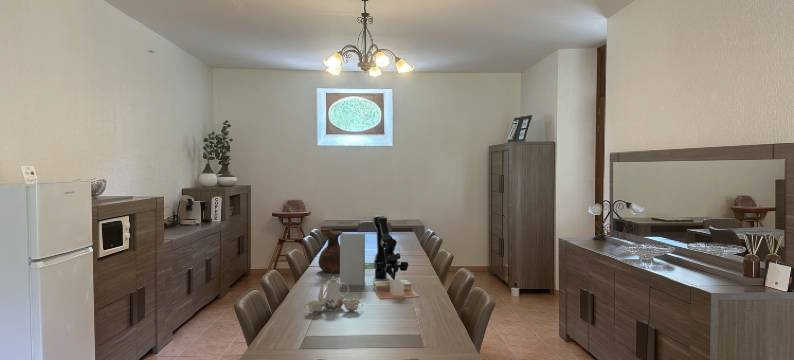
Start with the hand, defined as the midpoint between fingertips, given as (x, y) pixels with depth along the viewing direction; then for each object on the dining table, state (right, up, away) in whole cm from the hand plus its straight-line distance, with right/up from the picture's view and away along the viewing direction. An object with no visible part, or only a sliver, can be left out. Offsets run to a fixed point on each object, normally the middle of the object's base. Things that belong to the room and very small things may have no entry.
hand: (394, 279), depth 286 cm
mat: (+2, -7, -7) cm, 10 cm away
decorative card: (-11, -6, +73) cm, 74 cm away
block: (+1, -3, -2) cm, 4 cm away
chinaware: (-30, -8, -37) cm, 49 cm away
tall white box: (-25, -7, +19) cm, 32 cm away
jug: (-41, -6, +55) cm, 68 cm away
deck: (-1, -7, +5) cm, 9 cm away
